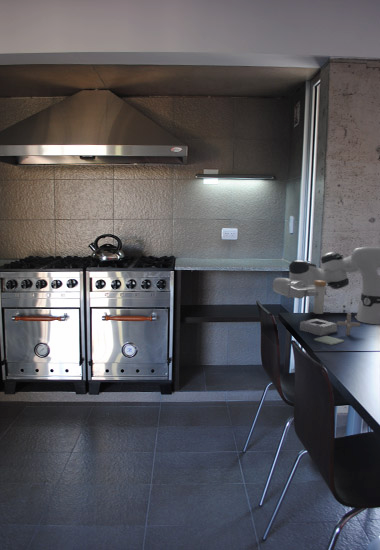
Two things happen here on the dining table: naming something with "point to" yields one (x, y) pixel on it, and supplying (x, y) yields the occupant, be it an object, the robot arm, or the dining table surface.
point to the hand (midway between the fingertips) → (321, 293)
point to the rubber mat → (329, 340)
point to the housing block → (318, 327)
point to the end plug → (319, 296)
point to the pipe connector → (348, 324)
